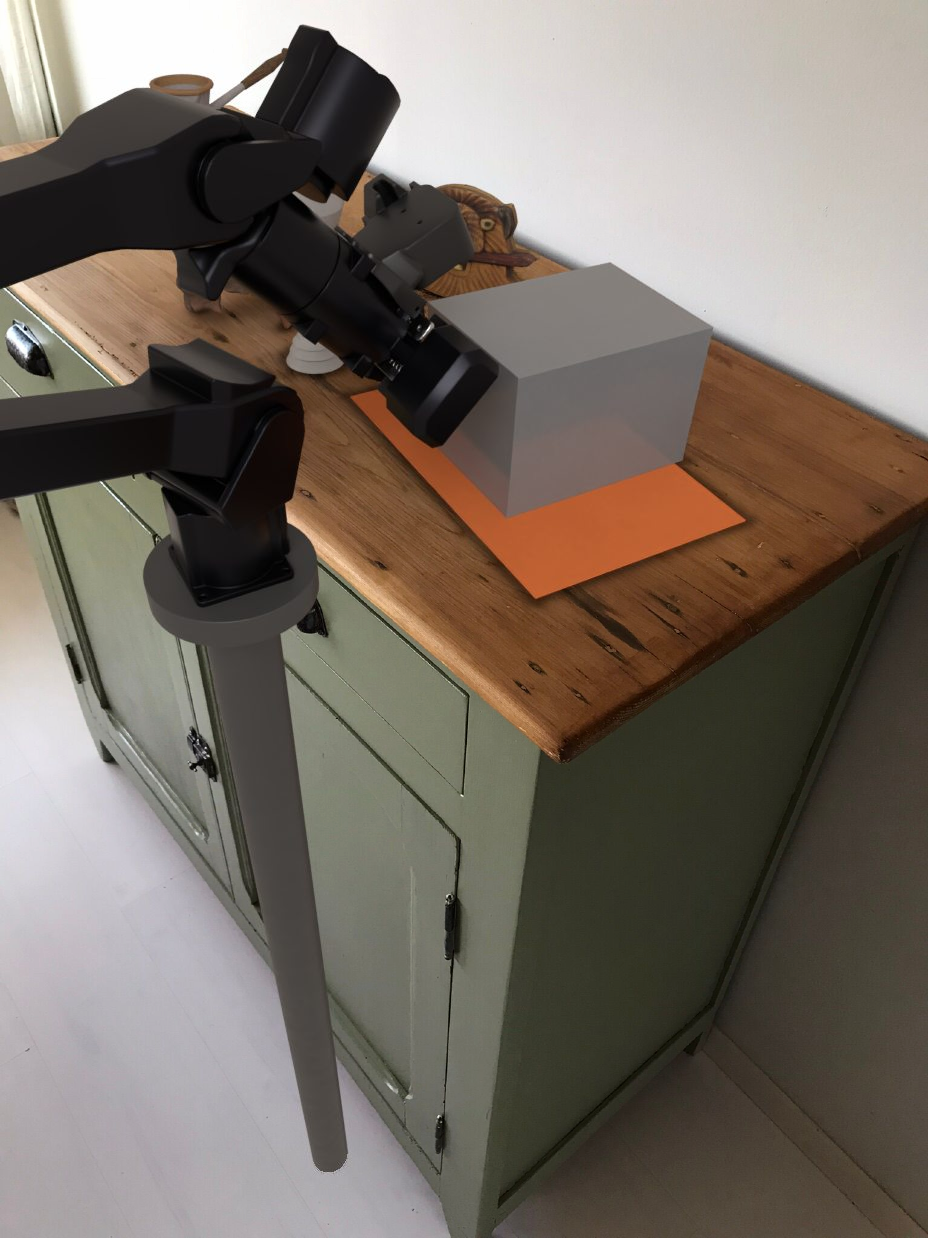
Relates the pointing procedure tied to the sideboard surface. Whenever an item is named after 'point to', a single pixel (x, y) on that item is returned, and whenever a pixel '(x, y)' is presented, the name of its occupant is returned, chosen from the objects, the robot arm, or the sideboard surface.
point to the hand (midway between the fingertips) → (462, 395)
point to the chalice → (302, 350)
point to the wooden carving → (484, 244)
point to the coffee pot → (199, 86)
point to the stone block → (574, 384)
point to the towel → (568, 515)
